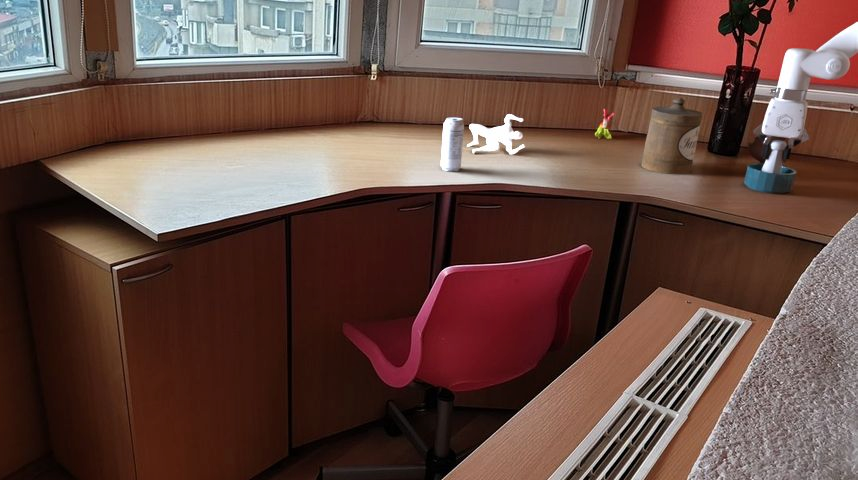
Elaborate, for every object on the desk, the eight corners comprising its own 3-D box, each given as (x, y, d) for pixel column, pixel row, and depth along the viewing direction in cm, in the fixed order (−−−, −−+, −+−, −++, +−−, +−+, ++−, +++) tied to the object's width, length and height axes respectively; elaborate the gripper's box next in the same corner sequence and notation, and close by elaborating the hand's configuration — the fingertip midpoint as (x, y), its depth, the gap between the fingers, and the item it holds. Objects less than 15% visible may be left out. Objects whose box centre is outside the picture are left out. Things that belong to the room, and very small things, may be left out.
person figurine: (467, 119, 230) (523, 112, 229) (463, 121, 243) (516, 113, 242) (471, 160, 232) (527, 152, 231) (468, 159, 245) (520, 152, 244)
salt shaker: (774, 189, 204) (785, 144, 199) (753, 184, 208) (764, 140, 203) (782, 186, 208) (793, 141, 203) (762, 181, 212) (772, 137, 207)
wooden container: (689, 177, 217) (704, 104, 208) (638, 170, 222) (651, 98, 214) (692, 167, 229) (706, 97, 221) (644, 160, 235) (656, 92, 227)
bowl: (790, 187, 211) (796, 167, 209) (791, 197, 200) (797, 176, 198) (744, 180, 216) (748, 161, 214) (742, 190, 205) (747, 169, 203)
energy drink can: (454, 166, 217) (458, 116, 212) (464, 171, 212) (468, 120, 207) (436, 167, 215) (440, 117, 209) (446, 172, 210) (449, 121, 204)
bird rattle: (591, 141, 269) (595, 136, 260) (595, 112, 270) (598, 106, 261) (609, 143, 268) (612, 137, 259) (612, 113, 269) (616, 107, 260)
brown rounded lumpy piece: (752, 169, 230) (763, 122, 225) (787, 177, 222) (799, 129, 216) (734, 173, 224) (745, 125, 219) (769, 181, 216) (782, 132, 210)
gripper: (756, 93, 198) (741, 158, 205) (825, 100, 191) (808, 167, 198) (757, 90, 205) (742, 153, 211) (824, 96, 198) (807, 161, 205)
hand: (774, 159), depth 205 cm, fingers closed on salt shaker, 4 cm apart
